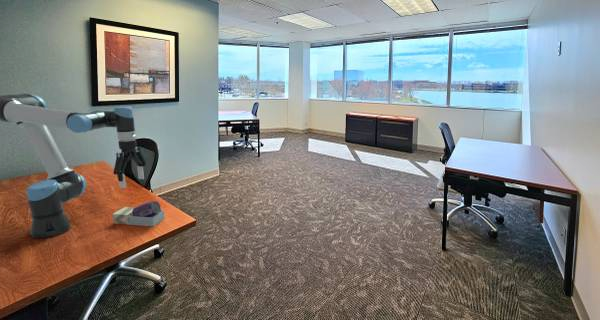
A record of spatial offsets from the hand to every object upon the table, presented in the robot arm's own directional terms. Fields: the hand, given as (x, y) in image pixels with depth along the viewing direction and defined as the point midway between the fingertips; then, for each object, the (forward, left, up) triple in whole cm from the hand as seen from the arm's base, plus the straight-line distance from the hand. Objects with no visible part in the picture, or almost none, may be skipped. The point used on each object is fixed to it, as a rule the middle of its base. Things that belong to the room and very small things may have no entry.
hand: (132, 183), depth 158 cm
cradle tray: (+5, 0, -20) cm, 21 cm away
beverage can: (0, -1, -16) cm, 16 cm away
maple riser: (-6, 0, -20) cm, 21 cm away
